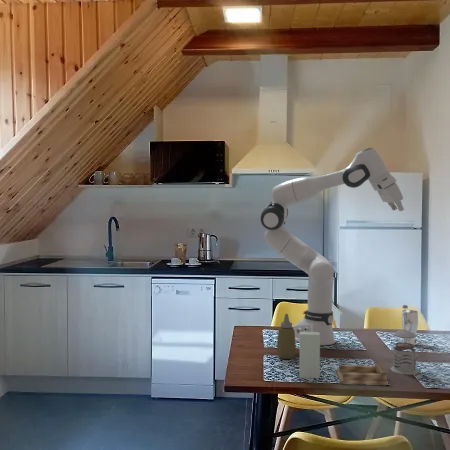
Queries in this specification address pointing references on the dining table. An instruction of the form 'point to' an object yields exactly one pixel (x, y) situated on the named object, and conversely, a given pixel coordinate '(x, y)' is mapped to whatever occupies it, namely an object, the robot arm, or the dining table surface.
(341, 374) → the wooden tray
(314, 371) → the tall white upright block
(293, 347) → the squeeze bottle
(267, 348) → the dining table surface
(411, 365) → the grey white tiered vessel
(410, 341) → the beer glass
